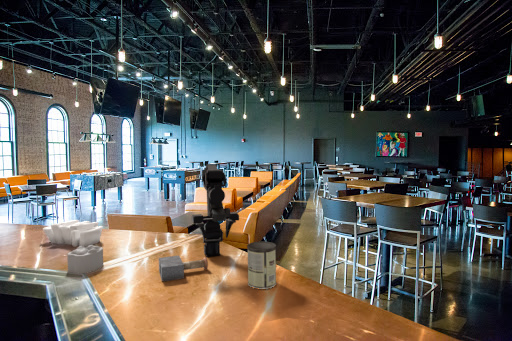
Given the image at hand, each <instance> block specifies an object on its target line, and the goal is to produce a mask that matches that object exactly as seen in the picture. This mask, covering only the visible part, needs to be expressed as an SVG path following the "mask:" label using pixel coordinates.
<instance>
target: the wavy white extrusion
mask: <svg viewBox="0 0 512 341" xmlns="http://www.w3.org/2000/svg"><path fill="white" fill-rule="evenodd" d="M98 225H99V222H97V221H94V222H91V221H89V220H84V221H80V220H79V219H73V220H68V221H67V220H66V221H63V222H59V223H58V222H57V223H54V224H51V225H50V226H45V227H43V228H42V231H43V232H44V234H45V236H46V237H47V238H48V240H49V242H50V243H51V244H57V245H72V247H76V248H77V247H80V246H83V247H88V246H89V245H94V246H95V245H96V244H97V243H99V242H100V239H101V236H102V231H103V228H104V226H103V225H100V226H98Z"/></svg>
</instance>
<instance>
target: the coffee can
mask: <svg viewBox="0 0 512 341" xmlns="http://www.w3.org/2000/svg"><path fill="white" fill-rule="evenodd" d="M246 247H247V286H250V287H249V288H251V287H254V288H259V289H266V290H269V289H268V288H270V289H273V288H274V286H275V285H276V286H277V255H276V254H277V244H276V243H274V242H270V241H265V240H264V241H252V242H250V243H247V245H246ZM276 286H275V287H276ZM272 287H273V288H272ZM254 288H253V289H254Z"/></svg>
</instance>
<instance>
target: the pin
mask: <svg viewBox="0 0 512 341" xmlns="http://www.w3.org/2000/svg"><path fill="white" fill-rule="evenodd" d="M182 262H183V264H184V271H187V270H194V269H200V268H203V269H204V270H208V267H209V262H208V257H207V256H206V257H205V256H204V257H203V258H202V259H200V260H199V259H197V260H189V261H182Z"/></svg>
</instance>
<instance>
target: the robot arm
mask: <svg viewBox="0 0 512 341" xmlns="http://www.w3.org/2000/svg"><path fill="white" fill-rule="evenodd" d="M201 182H202V185H203V188H204V189H205V191H206V209H207V212H206V213H207V214H206V215H203V214H201V213H199V214H198V213H197V214H192V215H191V221H190V222H192V224H193V225H194V224H195V225H196V226H198V228H199V230H200V232H201V235H202V242H203V244H204V245H203V253H204V255H205V256H206V258H211V257H218V256H221V254H222V253H221V252H220V250H221V249H220V248H221V245H220V244H221V243H222V242H223V241H224V231H223V229H222V228H221V224H220V222H225V238H226V239H228V237H229V234H230V231H231V229H232V226H233V224H236V223H237V221H240V215H239V213H238V212H236V211H231V208H230V207H224V204H223V202H224V200H225V198H226V193H225V191H224V190H223V188H222V187H224V188H225V187H226V185H227V175H226V173H225V172H224V171H223V169H218V164H216V163H208V164H205V167H204V169H202V171H201ZM204 221H205V222H206V223H204Z"/></svg>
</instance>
